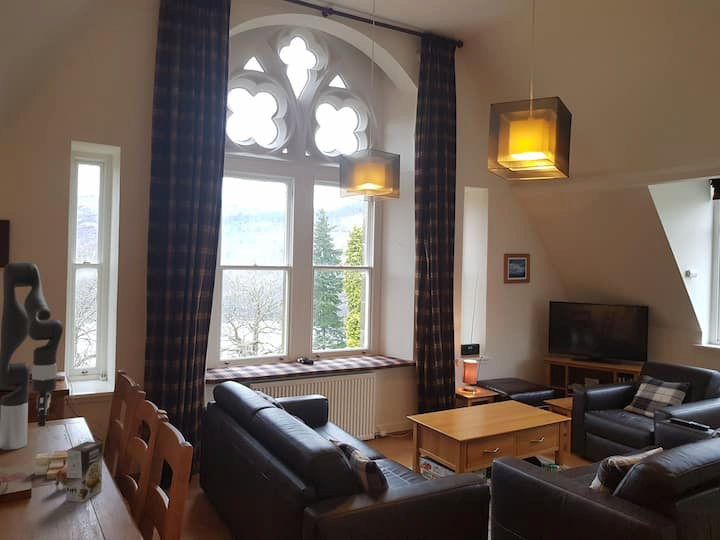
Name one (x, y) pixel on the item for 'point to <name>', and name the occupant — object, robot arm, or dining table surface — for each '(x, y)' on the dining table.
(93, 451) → the coffee box
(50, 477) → the board
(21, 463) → the dining table surface
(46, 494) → the dining table surface
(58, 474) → the bull figurine
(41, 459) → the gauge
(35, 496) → the dining table surface
